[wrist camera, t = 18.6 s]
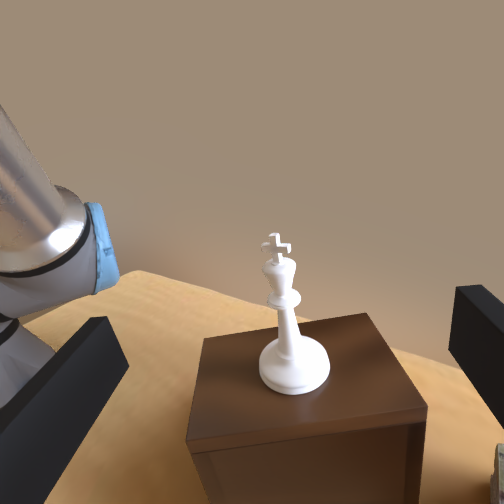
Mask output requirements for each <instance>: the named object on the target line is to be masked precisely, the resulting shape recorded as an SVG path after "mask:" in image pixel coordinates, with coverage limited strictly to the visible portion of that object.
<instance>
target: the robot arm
mask: <svg viewBox="0 0 504 504" xmlns="http://www.w3.org/2000/svg"><path fill="white" fill-rule="evenodd" d="M119 277H120V275H119V270H118V266H117V262H116V258H115V254H114V250H113V246H112V243H111V239H110V235H109V231H108V228H107V224H106V220H105V217H104V213H103V209H102V207H101V205H100V204H98V203H89V202H87V203H84V204H83V203H82V201H81V200H80V199H79V197H78V196H77V195H75V194H74V193H73V192H71V191H70V190H68V189H66V188H63V187H61V186H57V185H53V184H52V182H51V181H50V179H49V178H48V176H47V174H46V173H45V172H44V170H43V168H42V167H41V166H40V164H39V162H38V161H37V159H36V158H35V156H34V155H33V153H32V152H31V150H30V149H29V147H28V146H27V145H26V143H25V141H24V140H23V138H22V137H21V135H20V134H19V132H18V131H17V129H16V128H15V126H14V125H13V123H12V121H11V120H10V119H9V117H8V115H7V114H6V112H5V111H4V109H3V108H2V106H1V105H0V504H43V503H44V502H45V500H46V499H47V497H48V495H49V494H50V492H51V491H52V489H53V487H54V486H55V484H56V483H57V481H58V479H59V478H60V476H61V475H62V473H63V471H64V470H65V468H66V467H67V465H68V463H69V462H70V460H71V459H72V457H73V455H74V454H75V452H76V451H77V449H78V448H79V446H80V444H81V443H82V441H83V440H84V438H85V436H86V435H87V433H88V432H89V430H90V428H91V427H92V425H93V424H94V422H95V420H96V419H97V417H98V416H99V414H100V412H101V411H102V409H103V408H104V406H105V404H106V403H107V401H108V400H109V398H110V396H111V395H112V393H113V392H114V390H115V388H116V387H117V385H118V384H119V382H120V380H121V379H122V377H123V376H124V374H125V373H126V371H127V369H128V368H129V364H128V362H127V360H126V358H125V355H124V353H123V351H122V349H121V346H120V344H119V342H118V340H117V337H116V335H115V333H114V331H113V329H112V326H111V324H110V322H109V320H108V317H107V316H103V317H91V318H89V320H88V321H87V322H86V323H85V324H84V325H83V326H82V327H81V328H80V329H79V330H78V331H77V332H76V333H75V334H74V335H73V336H72V337H71V338H70V339H69V340H68V341H67V342H66V343H65V344H64V345H63V346H62V347H61V348H60V349H59V350H58V351H57V352H55V351H54V350H53V349H52V348H51V347H50V346H49V345H47V344H46V343H45V342H43V341H42V340H41V339H39V338H38V337H36V336H35V335H34V334H32V333H31V332H30V331H28V330H27V329H26V328H24V327H23V326H22V325H21V324H20V322H19V320H18V319H17V318H19V317H22V316H25V315H28V314H31V313H34V312H38V311H41V310H44V309H47V308H50V307H53V306H56V305H59V304H62V303H66V302H69V301H72V300H75V299H78V298H81V297H84V296H87V295H95V294H97V293H98V292H99V291H102V290H105V289H107V288H110V287H112V286H114V285H115V284H116V283H117V282H118V280H119ZM448 350H449V351H450V353H451V354H452V356H453V357H454V358H455V360H456V361H457V363H458V364H459V366H460V367H461V369H462V370H463V371H464V373H465V374H466V376H467V377H468V379H469V380H470V381H471V383H472V384H473V386H474V387H475V389H476V390H477V392H478V393H479V394H480V396H481V397H482V399H483V400H484V402H485V403H486V404H487V406H488V407H489V409H490V410H491V412H492V413H493V415H494V416H495V417H496V419H497V420H498V422H499V423H500V425H501V426H502V428H503V429H504V304H503V303H502V302H501V301H500V300H499V299H497V298H496V297H495V296H494V295H492V293H490V292H489V291H488V290H487V289H486V288H485V287H483V286H482V285H470V286H459V287H456V291H455V299H454V308H453V315H452V324H451V332H450V341H449V348H448Z"/></svg>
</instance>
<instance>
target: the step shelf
mask: <svg viewBox="0 0 504 504" xmlns="http://www.w3.org/2000/svg"><path fill="white" fill-rule="evenodd" d="M297 325H298V328H299V332H300V335H301V336H306V337H309V338H312V339H314V340H316V341H317V342H318V343H320V344H321V345H322V346H323V348H324V349H325V351H326V353H327V356H328V359H329V363H330V370H329V374H328V376H327V378H326V380H325V381H324V382H323V383H322V384H321V385H320V386H319V387H318V388H316V389H314V390H312V391H310V392H307V393H304V394H298V395H288V394H283V393H279V392H277V391H274V390H273V389H271V388H270V387H268V386H267V385H266V384H265V383H264V381H263V380H262V378H261V376H260V372H259V359H260V355H261V353H262V351H263V350H264V348H265V347H266V346H267V345H268V344H269V343H271V342H272V341H274V340H276V339H278V327H273V328H267V329H260V330H254V331H248V332H242V333H235V334H229V335H223V336H217V337H210V338H204V341H203V346H202V352H201V358H200V363H199V369H198V374H197V380H196V385H195V391H194V396H193V402H192V407H191V413H190V419H189V424H188V430H187V435H186V444H187V446H188V449H189V451H190V453H191V456H192V459H193V461H194V464H195V466H196V469H197V471H198V474H199V476H200V479H201V481H202V484H203V486H204V489H205V491H206V494H207V496H208V499H209V501H210V504H419V495H420V485H421V474H422V463H423V453H424V442H425V432H426V419H427V411H428V405H427V404H426V402H425V401H424V399H423V398H422V396H421V395H420V393H419V392H418V390H417V389H416V387H415V386H414V384H413V383H412V381H411V380H410V378H409V376H408V375H407V373H406V372H405V370H404V369H403V367H402V366H401V364H400V363H399V361H398V360H397V358H396V357H395V355H394V354H393V352H392V351H391V349H390V348H389V346H388V345H387V343H386V342H385V340H384V339H383V337H382V336H381V334H380V333H379V331H378V330H377V328H376V326H375V325H374V324H373V322H372V320H371V319H370V317H369V316H368V314H367V313H361V314H354V315H348V316H342V317H336V318H329V319H323V320H317V321H310V322H304V323H298V324H297Z"/></svg>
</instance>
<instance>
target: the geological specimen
mask: <svg viewBox="0 0 504 504" xmlns="http://www.w3.org/2000/svg"><path fill="white" fill-rule="evenodd" d="M494 468H495V470H494V474H493V475H491V481H490V504H504V444H500V443H498V444H497V446H496V449H495V460H494Z"/></svg>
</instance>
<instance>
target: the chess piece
mask: <svg viewBox="0 0 504 504" xmlns="http://www.w3.org/2000/svg"><path fill="white" fill-rule="evenodd" d="M269 240H270V243H263V244H262V245H261V248H262V252H269V253H272V259H271V260H269V261H267V262H266V263H265V264H264V265H263V267H262V270H263V273H264V275H265V277H266V278H267V279H268V281H269V283H270V285H271V287H272V289H273V290H274V291H273V292H271V293H270V294H269V296H268V300H267V303H268V305H269V306H270V307H271V308H273V309H276V310H278V339H276V340H274V341H272V342H271V343H269V344H268V345H267V346H266V347H265V348H264V350H263V351H262V353H261V355H260V359H259V372H260V376H261V378H262V380H263V381H264V383H265V384H266V385H267V386H268V387H270V388H271V389H273V390H274V391H277V392H279V393H283V394H288V395H298V394H304V393H307V392H310V391H312V390H314V389H316V388H318V387H319V386H320V385H321V384H322V383H323V382H324V381H325V380H326V378H327V376H328V374H329V370H330V363H329V359H328V356H327V353H326V351H325V349H324V348H323V346H322V345H321V344H320V343H318V342H317V341H316V340H314V339H312V338H309V337H306V336H301V335H300V332H299V328H298V325H297V322H296V318H295V314H294V310H293V308H294V307H295V306H297V305H298V304H299V302H300V301H301V297H300V295H299V293H298V292H297V291H296V290H294V289H291V286H292V280H293V276H294V273H295V268H296V264H295V262H294V261H293V260H291V259H289V258H285V257H282V253H284V254H288V253H289V252H290V251H291V247H290V244H286V243H280V238H279V233H272V234H270V235H269Z"/></svg>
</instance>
